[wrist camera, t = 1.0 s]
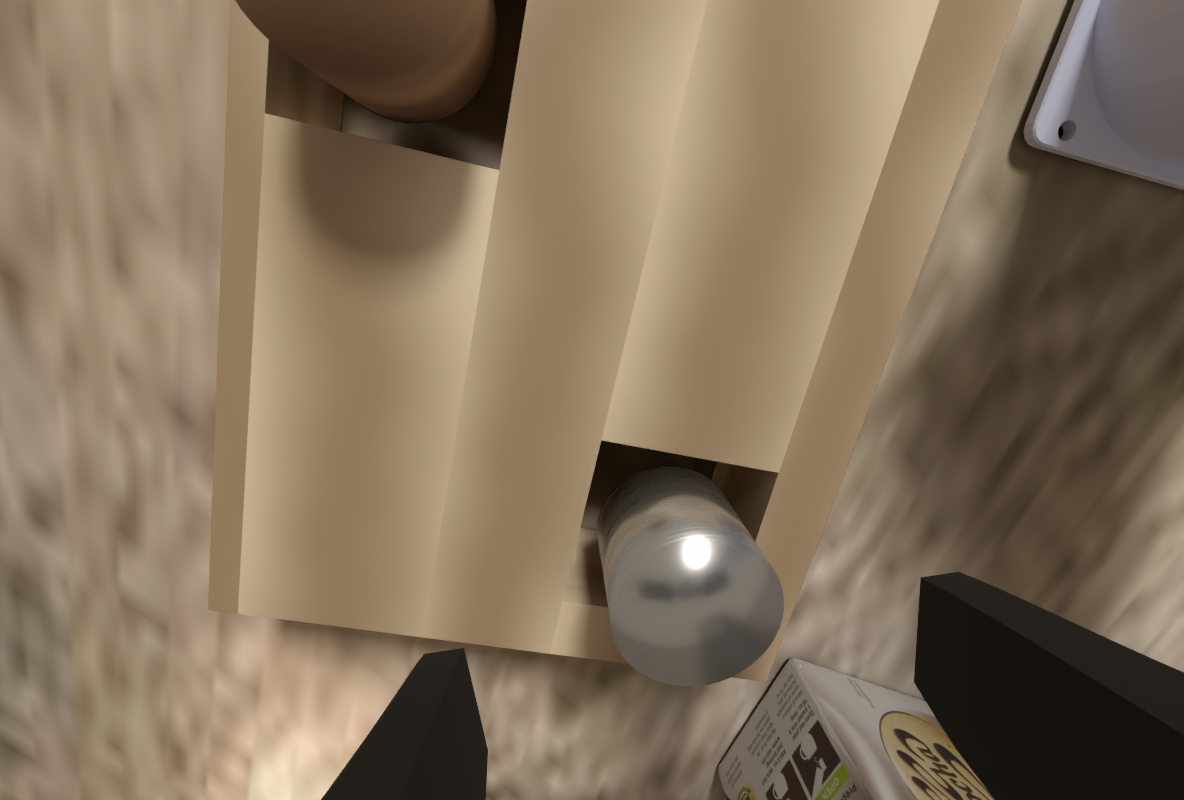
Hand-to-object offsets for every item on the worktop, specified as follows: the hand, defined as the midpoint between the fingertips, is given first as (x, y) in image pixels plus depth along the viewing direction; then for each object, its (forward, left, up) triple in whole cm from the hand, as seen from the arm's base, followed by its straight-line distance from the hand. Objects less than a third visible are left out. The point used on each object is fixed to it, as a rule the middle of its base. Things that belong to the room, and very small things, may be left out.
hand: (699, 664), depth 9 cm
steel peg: (-1, +1, -6) cm, 6 cm away
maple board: (+3, -4, -9) cm, 11 cm away
